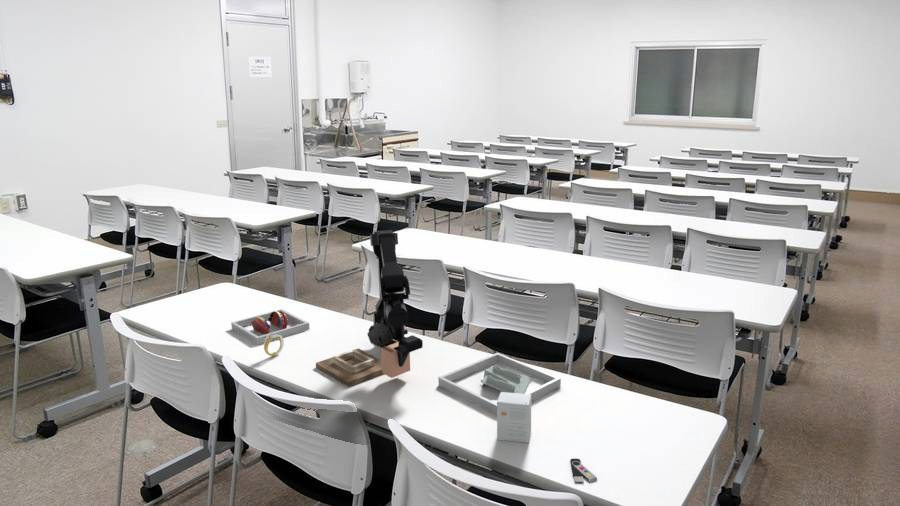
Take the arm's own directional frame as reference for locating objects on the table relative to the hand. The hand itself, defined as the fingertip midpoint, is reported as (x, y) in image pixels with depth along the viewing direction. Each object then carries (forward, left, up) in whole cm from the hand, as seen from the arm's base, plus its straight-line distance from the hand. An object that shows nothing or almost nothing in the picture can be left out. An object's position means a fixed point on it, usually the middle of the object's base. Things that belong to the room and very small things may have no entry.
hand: (396, 363), depth 190 cm
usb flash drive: (-2, +66, -6) cm, 66 cm away
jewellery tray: (+8, -63, -5) cm, 64 cm away
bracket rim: (-19, +24, -5) cm, 31 cm away
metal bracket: (-20, +26, -6) cm, 33 cm away
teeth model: (+8, -63, -6) cm, 64 cm away
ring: (+18, -41, -5) cm, 45 cm away
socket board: (+5, -15, -5) cm, 17 cm away
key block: (0, 0, -3) cm, 3 cm away
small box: (-2, +45, -5) cm, 45 cm away
